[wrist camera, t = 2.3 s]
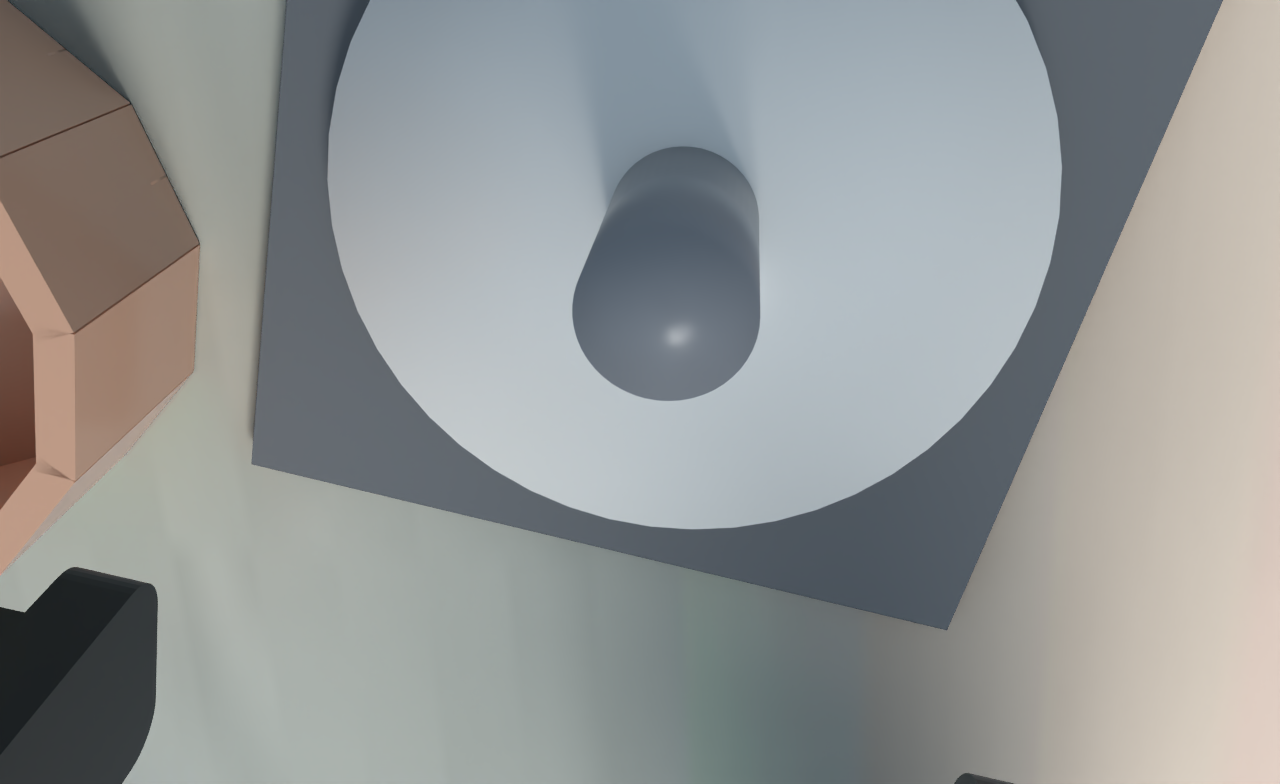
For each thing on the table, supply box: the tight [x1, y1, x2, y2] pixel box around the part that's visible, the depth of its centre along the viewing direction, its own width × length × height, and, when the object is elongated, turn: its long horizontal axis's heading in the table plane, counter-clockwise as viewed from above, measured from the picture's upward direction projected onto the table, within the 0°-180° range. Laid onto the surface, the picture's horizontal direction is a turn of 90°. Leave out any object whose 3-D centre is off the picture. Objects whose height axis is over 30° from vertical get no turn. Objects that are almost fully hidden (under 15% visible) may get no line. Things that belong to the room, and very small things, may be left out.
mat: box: [252, 0, 1223, 630], centre depth 27 cm, size 20×20×1 cm
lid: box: [327, 0, 1062, 529], centre depth 24 cm, size 17×17×7 cm
